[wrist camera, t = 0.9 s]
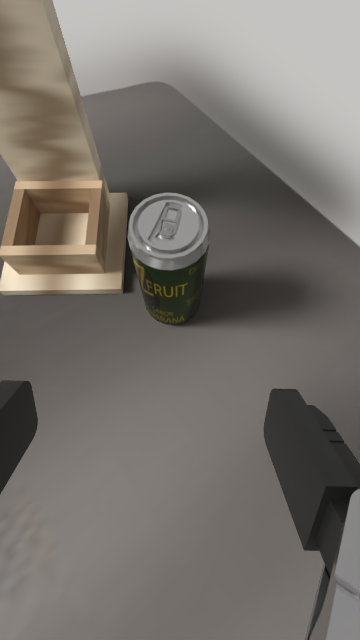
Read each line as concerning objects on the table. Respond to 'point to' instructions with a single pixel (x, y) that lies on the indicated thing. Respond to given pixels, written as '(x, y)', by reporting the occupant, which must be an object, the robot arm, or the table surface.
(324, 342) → the table surface
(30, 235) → the wooden dispenser stand
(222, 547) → the table surface
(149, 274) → the green metal cylinder
